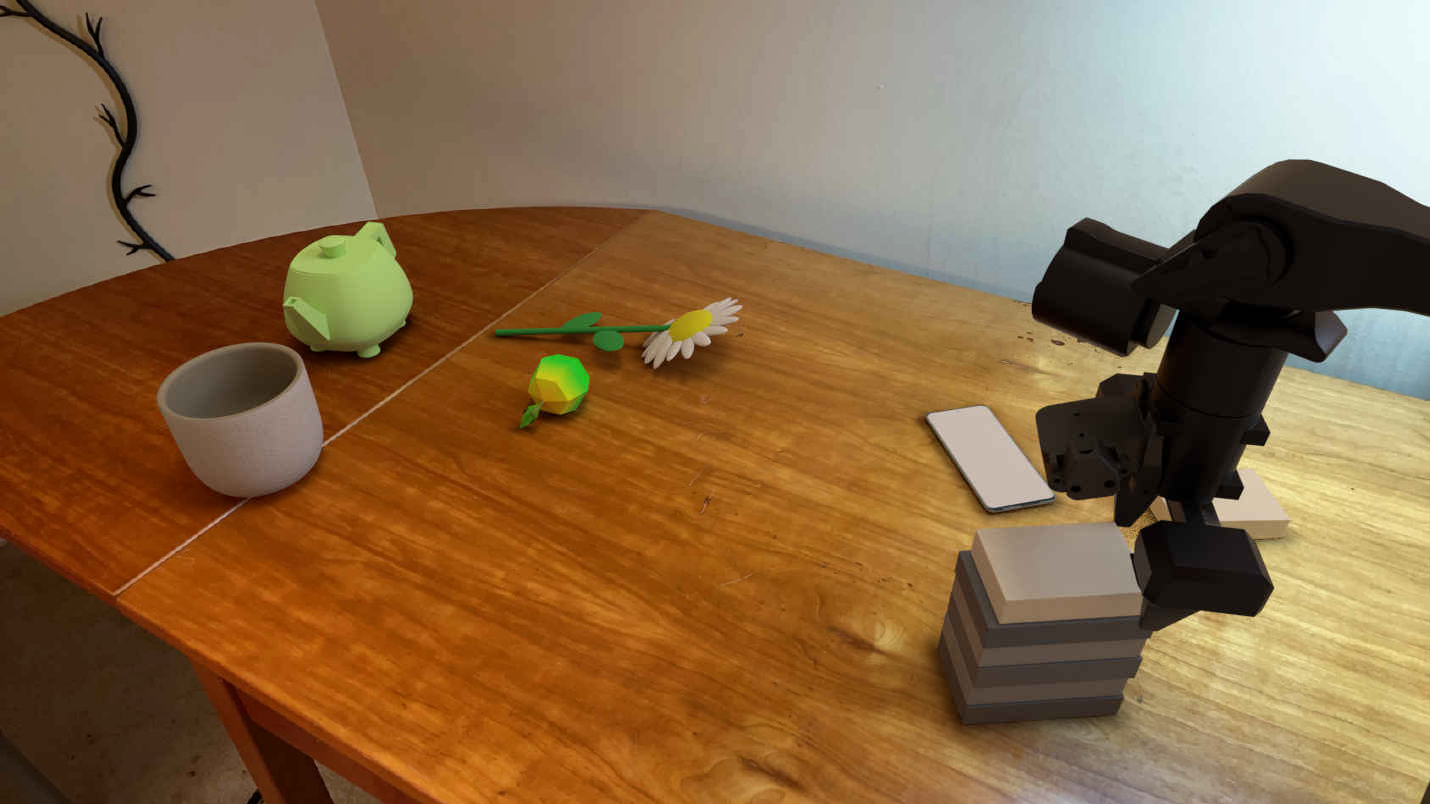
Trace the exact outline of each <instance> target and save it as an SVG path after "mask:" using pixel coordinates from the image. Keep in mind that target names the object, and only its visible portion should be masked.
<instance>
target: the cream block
mask: <svg viewBox="0 0 1430 804" xmlns="http://www.w3.org/2000/svg"><path fill="white" fill-rule="evenodd" d="M973 536H974V537H973V541H972V546H971V549H970V550H971V554H972V557H973V559H974V562H975V564H976V567H977V569H978V572H979V574H980V577H981V579H982V582H983V584H984V587H985V589H986V592H987V594H988V597H989V599H990V602H991V604H992V607H993V609H994V612H995V614H996V617H997V619H998V622H999V624H1009V623H1025V622H1041V621H1056V620H1072V619H1088V618H1104V617H1120V616H1135V615H1140V610H1141V605H1142V600H1143V596H1142V593H1141V590H1140V588H1139V587H1138V585H1137V581H1136V577H1135V573H1134V570H1133V566H1132V562H1131V558H1130V553H1134V551H1133V550H1132V548H1131V547H1130V545H1129V543H1128V542H1127V540H1126V539H1125V537H1124V535H1123V533H1122V532H1121V530H1120V528H1119V527H1118V526H1117V525H1116V523H1115V522H1114V520H1111V521H1095V522H1078V523H1077V522H1075V523H1060V524H1059V523H1058V524H1042V525H1041V524H1040V525H1025V526H1008V527H1005V526H1004V527H991V528H976V529H975V532H974V535H973Z"/></svg>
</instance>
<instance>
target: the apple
mask: <svg viewBox="0 0 1430 804" xmlns="http://www.w3.org/2000/svg"><path fill="white" fill-rule="evenodd" d="M590 378H591V377H590V375H589V373H588V371H587V370H586V368H585V367H584V366H583V364H582V362H581V361H580V359H579V358H577V357H572V356H568V355H563V354H560V353H557V354H553V355H549V356H543V357H541V359H540V361H539V363H538V365H537V367H536V369H535V370H534V372H533V374H532V376H531V377H530V382H529V386H528V390H527V392H528V394H529V396H530V397H531V398H532V400H533V402H534V403H535V404H534V405H533V404H532V405H528V406H527V407H526V409H525V410H524V411H523V414H522V417H521V422H520V427H519V429H522V428H525V427H527V426H529V425H531V424H533V423H534V422H535V421H536V420H537V418H538V416H539V412H540V411H544V412H547V413H552V414H555V415H564V414H567V413H571V412H573V411H576V410H577V409H578V407H579V406H580V404H581V402H582V400H583V399H584V398H585V397H586V394H587V393H588V391H589V385H590Z"/></svg>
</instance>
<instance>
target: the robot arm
mask: <svg viewBox="0 0 1430 804" xmlns="http://www.w3.org/2000/svg"><path fill="white" fill-rule="evenodd" d="M1030 309H1031V316H1032V320H1034V321H1035V322H1037V323H1039V324H1041V325H1044V326H1046V327H1049V328H1051V329H1053V330H1055V331H1059V332H1060V333H1063V334H1066V335H1067V336H1070V337H1073V338H1074V339H1077V340H1080V341H1082V342H1084V343H1086V344H1089V345H1091V346H1093V347H1096V348H1099V349H1100V350H1103V351H1105V352H1107V353H1111V354H1113V355H1114V356H1117V357H1120V358H1127V357H1130V355H1131V354H1132V353H1134V351H1135V350H1136V349H1138V347H1139V346H1140V347H1142V348H1144V349H1146V350H1152V349H1153V348H1155V347H1156V346H1157V344H1158V343H1160V341H1161V340H1162V338H1163V337H1164V335H1165V334H1166V332H1167V331H1168V329H1169V328H1170V325H1171V324H1172V322H1173V319H1174V318H1175V316H1176V314H1177V316H1176V318H1175V320H1174V323H1173V326H1172V329H1171V332H1170V335H1169V337H1168V340H1167V344H1166V345H1165V349H1164V351H1163V355H1162V357H1161V360H1160V362H1159V365H1158V368H1157V371H1156V372H1150V371H1149V372H1147V371H1143V373H1142V375H1141V374H1130V373H1121V372H1117V373H1116V372H1115V374H1113V375H1110V376H1109V377H1107V378H1105V379H1104V380H1102V381H1100V382H1099V384H1098V387H1097V390H1096V393H1095V395H1094V396H1095V397H1090V398H1084V399H1078V400H1072V401H1066V402H1061V403H1059V402H1058V403H1055V404H1054V403H1053V404H1049V405H1045V406H1042V407H1041V408H1040V409H1038V410H1037V411H1036V413H1035V417H1034V418H1035V419H1034V420H1035V425H1036V431H1037V437H1038V442H1039V448H1040V454H1041V458H1042V464H1043V468H1044V472H1045V473H1044V474H1045V477H1046V478H1045V479H1046V483H1047V485H1048V486H1049V487H1050V488H1051V490H1052V491H1053V492H1056V493H1061V494H1063V493H1064V494H1066V497H1067V498H1069V499H1071V500H1073V501H1075V502H1076V501H1086V500H1092V499H1101V498H1107V497H1108V498H1109V497H1113V521H1114V522H1115V523H1116V525H1117V527H1118V528H1119V527H1120V528H1127V529H1129V528H1131V527H1132V526H1133V525H1134V524H1135V523H1136V522H1137V521H1138V520H1139V519H1140V518H1141V517H1142V516H1143V515H1144V514H1145V512H1146V511H1148V509H1150V508H1149V507H1150V505H1151V504H1152V503H1153V502H1154V500H1155V499H1156V498H1157V497H1158V496H1160V497H1162V498H1165V501H1166V504H1167V508H1168V511H1169V514H1170V517H1171V520H1172V521H1168V520H1160V521H1158V520H1156V521H1155V522H1153V523H1151V524H1148V525H1145V526H1144V527H1142V528H1139V531H1138V533H1137V535H1136V538H1135V540H1134V545H1133V546H1134V547H1133V548H1134V549H1133V553H1130V558H1131V562H1132V566H1133V570H1134V573H1135V577H1136V581H1137V585H1138V587H1139V588H1140V590H1141V593H1142V596H1143V600H1142V605H1141V610H1140V618H1139V627H1140V629H1141V630H1147V631H1153V632H1159V631H1161V630H1163V629H1165V628H1167V627H1169V626H1172V625H1174V624H1176V623H1178V622H1180V621H1182V620H1184V619H1187V618H1188V617H1191V616H1192V615H1195V614H1197V613H1199V612H1207V613H1208V612H1209V613H1217V614H1223V615H1225V614H1226V615H1232V616H1238V617H1239V616H1240V617H1248V618H1255V617H1256V616H1258V615H1259V614H1260V613H1261V612H1262V611H1263V610H1264V608H1265V606H1266V604H1267V603H1268V601H1269V600H1270V597H1271V595H1272V594H1273V591H1274V590H1275V585H1274V583H1273V581H1272V578H1271V576H1270V574H1269V571H1268V569H1267V566H1266V564H1265V563H1266V562H1265V561H1264V559H1263V555H1262V554H1261V552H1260V549H1259V547H1258V544H1257V542H1256V541H1255V539H1252V537H1251V536H1250V535H1249V534H1248V533H1247V532H1246V530H1245V529H1239V528H1230V527H1222V526H1221V523H1220V521H1219V518H1218V515H1217V513H1216V510H1215V507H1214V505H1213V502H1212V501H1213V499H1214V498H1222V499H1231V500H1239V498H1240V496H1241V494H1242V492H1243V490H1244V485H1243V483H1242V481H1241V478H1240V476H1239V474H1238V471H1237V469H1238V466H1239V463H1240V462H1241V459H1242V457H1243V454H1244V453H1245V450H1246V448H1247V446H1255V447H1265V446H1266V443H1267V441H1268V439H1269V438H1270V435H1271V433H1272V432H1271V430H1270V428H1269V426H1268V424H1267V422H1266V419H1265V418H1264V416H1263V411H1264V409H1265V407H1266V404H1267V402H1268V400H1269V399H1270V396H1271V394H1272V392H1273V390H1274V387H1275V385H1276V383H1277V381H1278V379H1279V376H1280V374H1281V372H1282V369H1283V368H1284V365H1285V364H1286V361H1287V359H1288V357H1289V355H1290V354H1291V355H1294V356H1296V357H1299V358H1301V359H1304V360H1307V361H1310V362H1312V363H1315V364H1321V363H1323V362H1325V361H1326V360H1327V359H1328V358H1329V356H1330V355H1331V354H1332V353H1333V352H1334V350H1335V349H1336V348H1337V347H1338V346H1339V345H1340V344H1341V343H1342V341H1343V340H1344V338H1346V336H1347V335H1348V333H1349V331H1348V327H1347V326H1346V325H1345V324H1344V322H1343V321H1342V320H1341V318H1340V317H1339V315H1337V314H1336V312H1339V311H1353V310H1366V309H1377V310H1388V311H1396V312H1397V311H1398V312H1404V313H1405V312H1406V313H1409V314H1415V315H1419V316H1423V317H1428V318H1430V206H1427V205H1425V204H1423V203H1421V202H1418V201H1417V200H1415V199H1413V198H1411V197H1410V196H1408V195H1406V194H1404V193H1403V192H1401V191H1399V190H1397V189H1396V188H1394V187H1392V186H1390V185H1389V184H1387V183H1385V182H1383V181H1381V180H1377V179H1374V178H1371V177H1368V176H1365V175H1362V174H1359V173H1356V172H1352V171H1350V170H1346V169H1343V168H1340V167H1337V166H1334V165H1331V164H1327V163H1324V162H1321V161H1317V160H1313V159H1309V158H1308V159H1304V158H1302V159H1298V158H1297V159H1295V158H1288V159H1284V160H1280V161H1279V160H1278V161H1276V162H1274V163H1272V164H1269V165H1267V166H1265V167H1264V168H1261V170H1260V171H1257V172H1256V173H1254V174H1252V175H1251V176H1249V178H1247V179H1245V180H1244V181H1243V182H1242V183H1240V184H1239V185H1238V186H1236V187H1235V188H1233V189H1232V190H1231V191H1230V192H1229V193H1227V194H1226V195H1224V196H1223V197H1222V198H1220V199H1219V200H1217V201H1216V202H1215V203H1214V204H1212V205H1211V206H1210V207H1209V209H1208V210H1207V211H1206V212H1205V213H1204V214H1203V215H1202V216H1201V218H1200V219H1199V221H1198V223H1197V226H1196V228H1194V229H1192V230H1190V231H1189V232H1188V233H1187V234H1186V235H1184V236H1183V237H1182V238H1180V239H1179V240H1177V242H1175V243H1174V244H1173V245H1171V246H1170V247H1166V246H1163V245H1160V244H1156V243H1154V242H1151V241H1148V240H1146V239H1145V240H1144V239H1142V238H1139V237H1136V236H1133V235H1130V234H1128V233H1124V232H1122V231H1119V230H1117V229H1114V228H1113V227H1111V226H1110V225H1108V224H1107V223H1105V222H1102V221H1099V220H1096V219H1094V218H1091V217H1087V216H1086V217H1084V218H1082V219H1080V220H1079V221H1078V222H1076V223H1075V224H1073V225H1071V226H1070V227H1068V228H1066V233H1065V237H1064V240H1063V244H1062V245H1061V246H1060V248H1059V249H1058V250H1057V251H1056V253H1055V254H1054V256H1053V258H1052V259H1051V261H1050V262H1049V264H1048V266H1047V268H1046V270H1045V272H1044V274H1043V276H1042V279H1041V281H1038V283H1037V284H1036V285H1035V288H1034V291H1033V295H1032V301H1031V308H1030ZM1177 311H1178V312H1177ZM1176 312H1177V313H1176ZM1419 804H1430V780H1429V781H1428V783H1427V786H1426V788H1425V791H1424V793H1423V795H1422V797H1421V800H1420V803H1419Z"/></svg>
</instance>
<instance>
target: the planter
mask: <svg viewBox="0 0 1430 804" xmlns="http://www.w3.org/2000/svg"><path fill="white" fill-rule="evenodd" d="M156 404H157V406H158V409H159V411H160V413H161V415H162V418H163V419H164V421H165V424H166V425H167V427H168V429H169V430H170V433H171V435H172V437H173V439H174V441H175V443H176V445H177V447H178V449H179V451H180V453H181V455H182V456H183V458H184V460H185V462H186V464H187V465H188V467H189V468H190V470H191V471H192V472H193V474H194V475H195V477H197V479H198V480H200V481H201V482H202V483H203V484H204V485H205V486H207V487H208V488H209V489H211V490H214V491H215V492H218V493H220V494H222V495H226V496H229V497H235V498H256V497H262V496H263V497H264V496H267V495H272V494H274V493H277V492H280V491H282V490H284V489H287V488H288V487H290V486H292V485H294V484H296V483H297V482H299V481H300V480H301V479H303V478H304V477H305V476H306V475H307V474H308V473H309V472H310V471H311V469H312V468H313V467H314V466H315V465H316V463H317V461H318V460H319V457H320V456H321V452H322V449H323V443H324V427H323V421H322V416H321V413H320V409H319V406H318V403H317V399H316V396H315V393H314V391H313V387H312V385H311V382H310V379H309V375H308V372H307V369H306V366H305V362H304V360H303V358H302V357H301V355H300V354H299V353H298V352H297V351H295V350H294V349H293V348H290V347H288V346H285V345H282V344H278V343H273V342H263V341H261V342H260V341H259V342H244V343H243V342H242V343H237V344H231V345H228V346H227V345H226V346H223V347H219V348H216V349H212V350H210V351H207V352H204V353H202V354H200V355H198V356H196V357H193V358H191V359H190V360H187V361H186V362H184V363H183V364H181V365H180V366H178V367H177V368H176V369H174V370H173V371H171V372H170V374H169V375H167V376H166V378H165V379H164V380H163V381H162V382H161V384H160V385H159V387H158V390H157V392H156Z"/></svg>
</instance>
